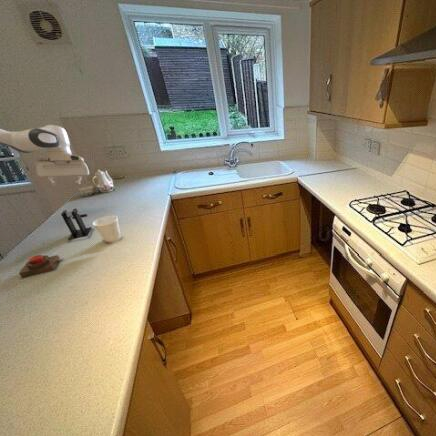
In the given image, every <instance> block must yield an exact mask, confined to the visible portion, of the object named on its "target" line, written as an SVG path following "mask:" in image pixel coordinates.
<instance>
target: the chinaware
mask: <svg viewBox="0 0 436 436" xmlns="http://www.w3.org/2000/svg"><path fill="white" fill-rule="evenodd" d="M95 179H96V180H97V184H96V183H95V182H96V181H95ZM91 180H92V184H93V185H95V186H96V188H95V186H92V185H88V186H82V187H81V188H78V191H80V195H82V196H83V197H84V196H85V197H89V196H90V197H91V196H93V193H94V188H95V189H96V190H97V191H98V192H99V193H101V194H105V193H110V192H112V191H114V190H115V189H114V187H115V182H116V180H115V179H113V178H112V177H111V176H110V175H109V173H108V170H105V171H102V170H100V169H97V171H96V172H95V173H94V176H93V177H92V179H91Z"/></svg>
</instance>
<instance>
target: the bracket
mask: <svg viewBox="0 0 436 436" xmlns="http://www.w3.org/2000/svg"><path fill="white" fill-rule="evenodd" d="M71 211H72V214H73V216H74V218H75V219H74V220H75V222H76V224H77V226H78V228H79V229H77V227H76V226H75V224H74V222H73V219H72V217H67V215H66V212H68V210H67V209H65V210H64V209H63V211H62V212H61V213H60V215H61V217H62V219H63V221H64V223H65V224H66V227H67V228H68V230H69V232H70V235H69V237H68V239H67V241H70V240H77V239H80V238H84V237H85V238H86V237H88V236H89V234H90V232H91V231H92V228H93V226H90V227H86V225H85V222H84V221H83V218H81V217H80V215H81V214H80V213H79V210H78V208H73V209H72V210H71Z"/></svg>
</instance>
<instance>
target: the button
mask: <svg viewBox="0 0 436 436" xmlns="http://www.w3.org/2000/svg"><path fill="white" fill-rule="evenodd" d="M43 260H44V258H43V255H42V254H38V255H34V256H32V257H30V258H29V259H28V261H30V263H31V264H36V263H39V262H41V261H43Z"/></svg>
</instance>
